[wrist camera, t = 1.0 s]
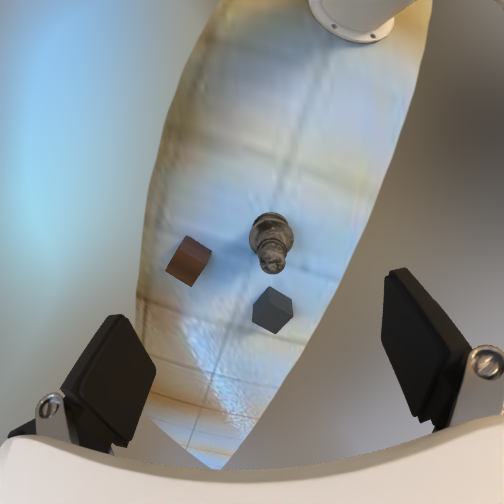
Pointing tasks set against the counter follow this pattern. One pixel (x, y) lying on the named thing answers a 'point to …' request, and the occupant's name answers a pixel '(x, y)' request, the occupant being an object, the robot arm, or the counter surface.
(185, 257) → the walnut block
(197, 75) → the counter surface
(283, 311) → the slate block
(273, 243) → the stone chess piece
